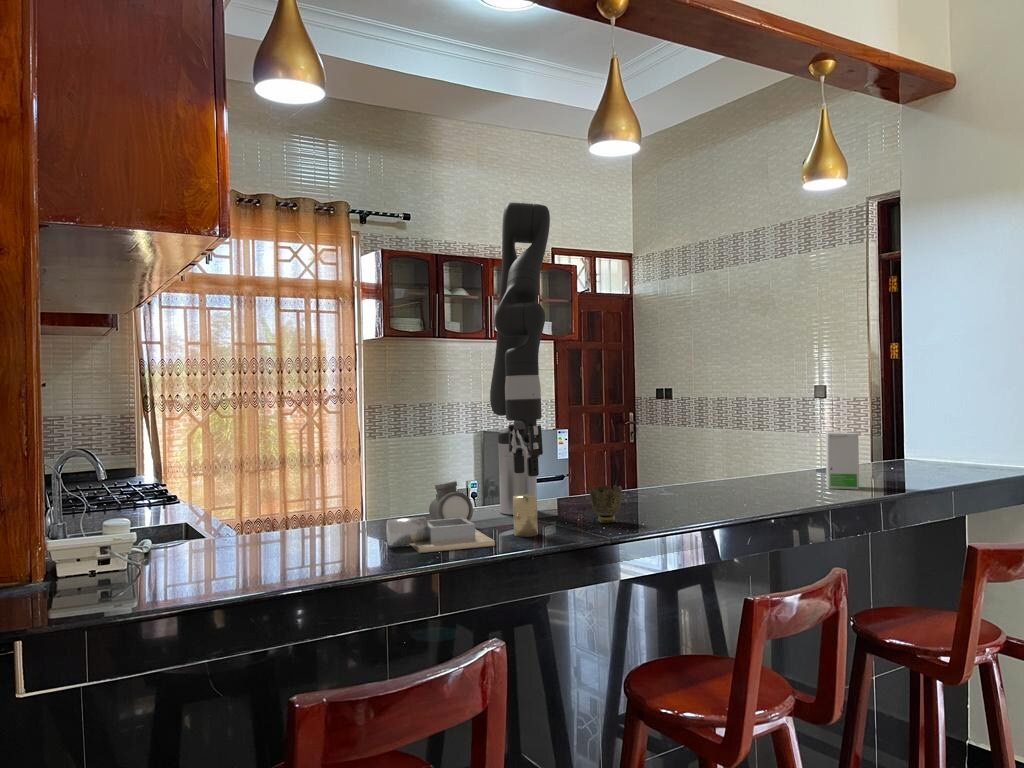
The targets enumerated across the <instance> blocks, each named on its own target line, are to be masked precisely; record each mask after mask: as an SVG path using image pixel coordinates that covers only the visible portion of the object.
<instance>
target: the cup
mask: <svg viewBox="0 0 1024 768" xmlns="http://www.w3.org/2000/svg"><path fill="white" fill-rule="evenodd" d="M588 489H589V490H588V491H589V497H590V503H591V504H590V505H591V509H592V511H593V513H595V514H596V515H598V518H597V519H598V522H600V523H601V524H611V523H614V522H615V520H616V518H615V516H616V515H617V514H618V513H619V512H620V510H621V506H622V498H623V487H622V486H621V485H618V486H617V485H616V484H615V485H613V487H612V488H610V487H609V485H608V484H606V485H601V484H598V486H595V485H593V486H589V488H588Z"/></svg>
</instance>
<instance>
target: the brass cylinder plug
mask: <svg viewBox="0 0 1024 768" xmlns="http://www.w3.org/2000/svg"><path fill="white" fill-rule="evenodd" d="M538 527H539V526H538V495H537V496H536V495H516V496H513V536H516V537H523V538H524V537H529V538H530V537H535V536H538V534H539V530H538V529H539V528H538Z"/></svg>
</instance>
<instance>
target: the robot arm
mask: <svg viewBox="0 0 1024 768" xmlns="http://www.w3.org/2000/svg"><path fill="white" fill-rule="evenodd" d="M550 226H551V214H550V210H549V208H548V207H547V206H546V205H545V204H538V203H528V202H527V203H526V202H508V203H506V205H505V206H504V210H503V213H502V232H501V233H502V235H501V239H502V241H501V246H502V247H501V255H502V256H501V276H500V284H499V285H500V286H499V297H498V306H497V308H496V311H495V314H494V326H495V329H496V345H495V346H496V347H495V356H494V363H493V369H492V376H491V383H490V389H489V403H490V408H491V410H492V412H493V413H494V414H495V415H496V416H505V419H506V420H507V421H510V422H512V421H513V423H512V424H508V426H507V427H506V428H504V429H502V430H500V431H499V432H498V433H497V447H498V477H499V512H500V513H501V514H504V515H513V496H516V495H536V496H537V497H538V486H537V483H538V482H537V481H538V480H537V477H538V476H539V475H540V473H539V471H540V470H539V469H540V468H539V458H540V455H541V456H542V455H543V453H544V450H543V449H544V448H543V435H542V426H541V425H540V424H539V425H537V424H538V423H537V422H538V421H537V420H540V419H542V417H543V416H542V414H543V413H542V393H541V392H542V390H541V382H540V376H539V373H540V370H539V369H540V367H539V352H540V344H541V340H542V335H543V332H544V327H545V322H546V311H545V310H544V308H543V306H542V304H540V303H539V302H538V299H539V293H540V292H539V290H540V277H541V276H540V275H541V269H542V265H543V262H544V258H545V253H546V251H547V250H546V249H547V243H548V240H549V233H550ZM516 243H517V244H530V246H529V247H528V248H527V249H526V250H524V251H523V252H522V253H521V254H520V255H519V256H518V255H517V251H516ZM513 516H514V515H513Z"/></svg>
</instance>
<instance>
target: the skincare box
mask: <svg viewBox="0 0 1024 768" xmlns="http://www.w3.org/2000/svg"><path fill="white" fill-rule="evenodd" d="M859 449H860V448H859V433H857V432H842V431H841V432H840V431H838V432H837V431H831V432H830V431H827V432H825V477H826V478H825V482H826V483H825V485H826V487H827V489H833V490H835V489H836V490H838V489H839V490H859V489H860V467H859V465H860V464H859V459H860V458H859Z"/></svg>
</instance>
